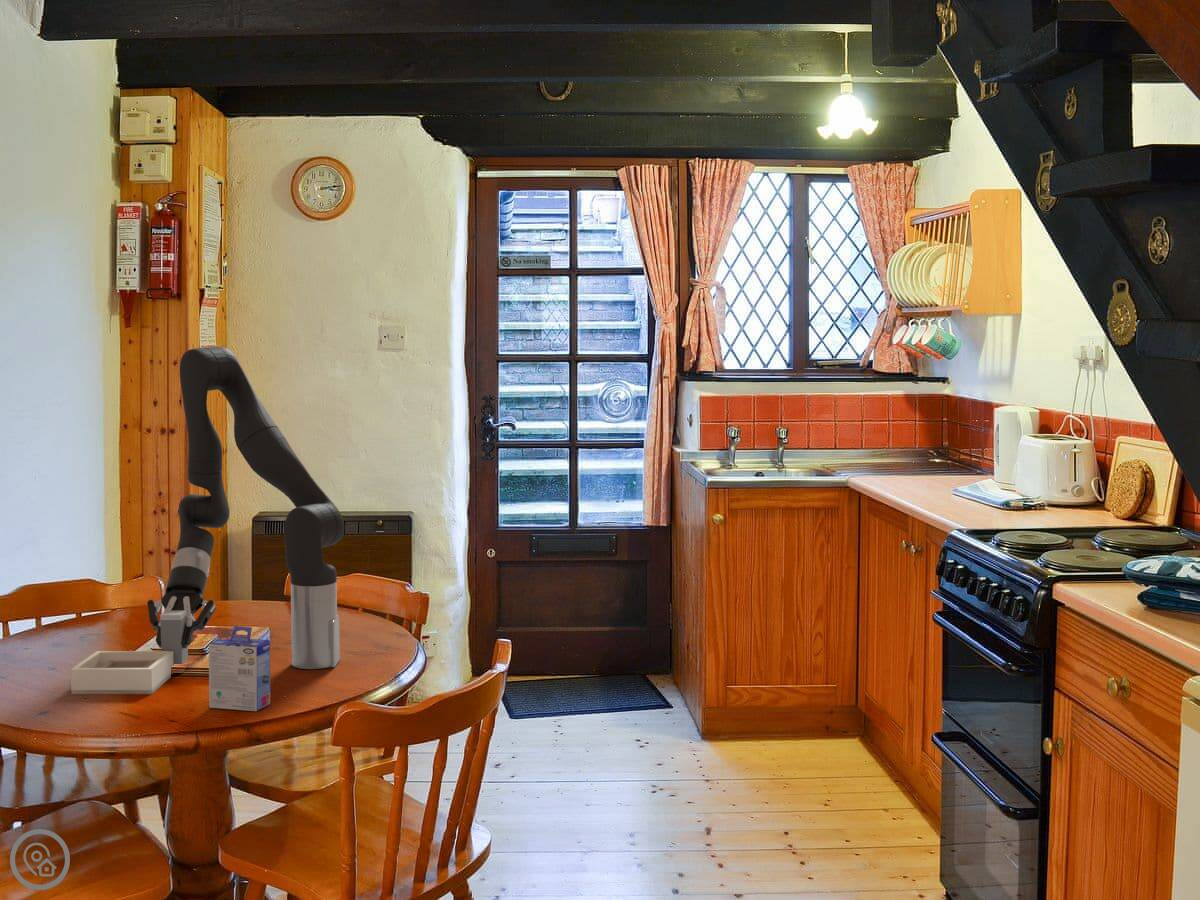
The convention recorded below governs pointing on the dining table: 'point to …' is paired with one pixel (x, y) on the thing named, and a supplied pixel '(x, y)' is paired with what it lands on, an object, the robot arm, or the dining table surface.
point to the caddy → (122, 672)
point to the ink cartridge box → (239, 672)
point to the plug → (174, 634)
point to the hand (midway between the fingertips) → (172, 645)
